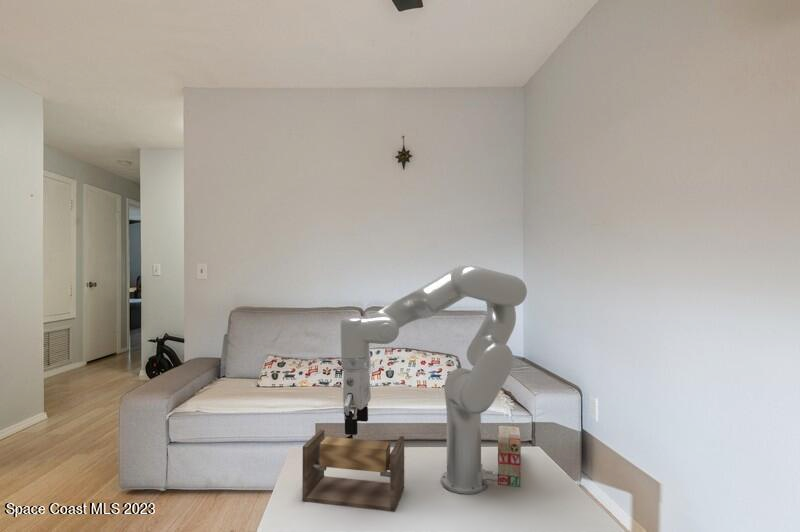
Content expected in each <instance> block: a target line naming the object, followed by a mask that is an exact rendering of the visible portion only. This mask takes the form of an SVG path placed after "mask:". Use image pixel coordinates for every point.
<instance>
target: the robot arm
mask: <svg viewBox="0 0 800 532" xmlns="http://www.w3.org/2000/svg"><path fill="white" fill-rule="evenodd" d="M527 293H528V289H527V285H526V284H525V282H524V281H523V280H522V279H521V278H520V277H519V276H515V275H512V274H509V273H504V272H500V271H495V270H492V269H487V268H484V267H480V266H476V265H460V266H456V267H454V268H453V269H451V270H449V271H447V272H446V273H443V274H442V275H440V276H438V277H437V278H436V279H433V280H432V281H430V282H428V283H427V284H425V285H423V286H422V287H420V288H418V289H417V290H414V291H412V292H409V294H407V295H405V296H403V297H401V298H399V299H396V300H395V301H393V302H391V303H390V304H389V303H388V305H386V306H384V307H382V308H381V309H380V310H379V309H378V310H377V311H376V312H374V313H373V314H372V315H370V317H366V316H361V315H353V316H345V317H343V318H342V319H341V321H340V356H341V359H340V360H341V362H340V365H341V371H343V382H342V387H343V389H342V390H343V391H342V393H343V394H342V400H343V418H344V434H345V435H347V436H348V435H349V436H350V435H353V436H357V435H358V433H359V431H358V422H366V423H367V422H368V421H369V408H368V407H369V402H370V401H371V397H372V396H371V395H372V394H371V382H370V381H371V380H370V372H369V369H370V367H371V366H370V365H371V364H370V363H371V362H370V359H371V358H370V356H371V355H370V344H378V345H387V344H391V343H393V342H394V341H396V339H397V338H398V337H399V334H400V328H402V327H404V326H405V325H407V324H409V323H412V322H414V321H417V320H422V319H428V318H431V317H434V316H436V315H438V314H440V313H441V312H443V311H445V310H446V309H447V308H450V307H451V306H452V305H454V304H456V303H458V302H459V301H461V300H463V299H465V298H467V297H468V298H472V299H475V300H479V301H483V302H485V303H486V315H485V318H484V320H483V321H482V323H481V325H480V327H479V329H478V331H477V332H476V334H475V336H474V337H473V339H472V341H471V342H470V344H469V345H468V346H467V347H468V348H467V349H466V350H467V351H466V359H467V361H468V363H469V364H470V365H471V366H472V369H471V370H470V369H469V368H463V367H459V368H456V369H453V370H452V371H450V372H449V373H448V374H447V376H446V379H445V381H444V399H445V407H446V410H445V411H446V471H445V472H444V473H443V474H442V475H441V478H440V480H441V481H440V482H441V485H442V486H443V487H444V488H445V489H447V490H448V491H451V492H453V493H458V494H461V495H462V494H463V495H464V494H466V495H470V494H471V495H472V494H477V493H480V492H482V491H484V490H485V489H486V488H487V486H488V481H489V482H494V483H498V473H494V470H490V469H489V470H485V468H483V463H482V415H481V414H483V413H485V412H486V411H487V410H489V408H490V407H491V406H492V405H493V403H494V402H495V400H496V398H497V397H498V395H499V393H500V391H501V389H502V388H503V387H504V384H505V383H506V381H507V379H508V378H509V375H510V374H511V371H512V369H513V364H514V355H513V352H512V350H511V348H510V347H509V346H508V341H509V340H510V337H511V336H512V333H513V332H514V329H515V327H516V321H517V314H516V307H517V306H519V305H521V304H523V303H524V301H525V300H526V298H527Z"/></svg>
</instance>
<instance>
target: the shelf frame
mask: <svg viewBox="0 0 800 532" xmlns="http://www.w3.org/2000/svg"><path fill="white" fill-rule="evenodd" d="M324 439H325V429H320V430H319V431H318V432H317V433H315V435H313V436H312V437H311V438H310V439H309V440H308V441H307V442H306V443H305V444H303V445H302V480H301V482H302V489H301V490H302V491H301V492H302V498H301V499H302V500H301V501H302V502H307V503H316V504H325V505H334V506H340V507H341V506H342V507H349V508H351V507H352V508H358V509H359V508H360V509H369V510H376V511H377V510H378V511H386V512H396V510H397V507H398V505H399V503H400V500H401V498H402V495H403V492H404V490H405V436H404V435H402V436H401V435H400V436H399V437H398V439H397V441H396V442H395V445H394V447H393V449H392V450H391V451H390V466H389V468H388V470H387V472H386V473H382V472H379V477H387V478H389V482H386V481H377V480H367V479H355V478H345V477H337V476H335V477H334V476H328V475H327V476H326V475H325V471H327V468H328V467H320V443H321V442H322V441H323V440H324Z"/></svg>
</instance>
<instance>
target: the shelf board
mask: <svg viewBox="0 0 800 532" xmlns="http://www.w3.org/2000/svg"><path fill="white" fill-rule="evenodd" d="M390 454H391V441H387V440H386V441H385V440H384V441H382V440H373V439H359V438H346V437H334V436H325V437H324V440H323V441H322V442H321V443H320V467H327V468H332V469H339V470H340V469H342V470H352V471H361V472H362V471H363V472H364V471H365V472H372V473H373V472H374V473H380V472H382V473H386V472H388V471H389V470H388V468H389V466H390Z"/></svg>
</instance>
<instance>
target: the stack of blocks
mask: <svg viewBox="0 0 800 532" xmlns="http://www.w3.org/2000/svg"><path fill="white" fill-rule="evenodd" d="M497 436H498V438H497V474H498V482H497V485H498V486H504V487H505V486H506V487H516V488H521V487H522V486H521V485H522V484H521V483H522V482H521V480H522V479H521V477H522V474H521V473H522V472H521V471H522V469H521V465H522V455H521V454H522V453H521V452H522V446H521V445H522V443H521V441H522V440H521V432H520V428H519V427H518V426H507V425H506V426H505V425H499V426H498V435H497Z"/></svg>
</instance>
